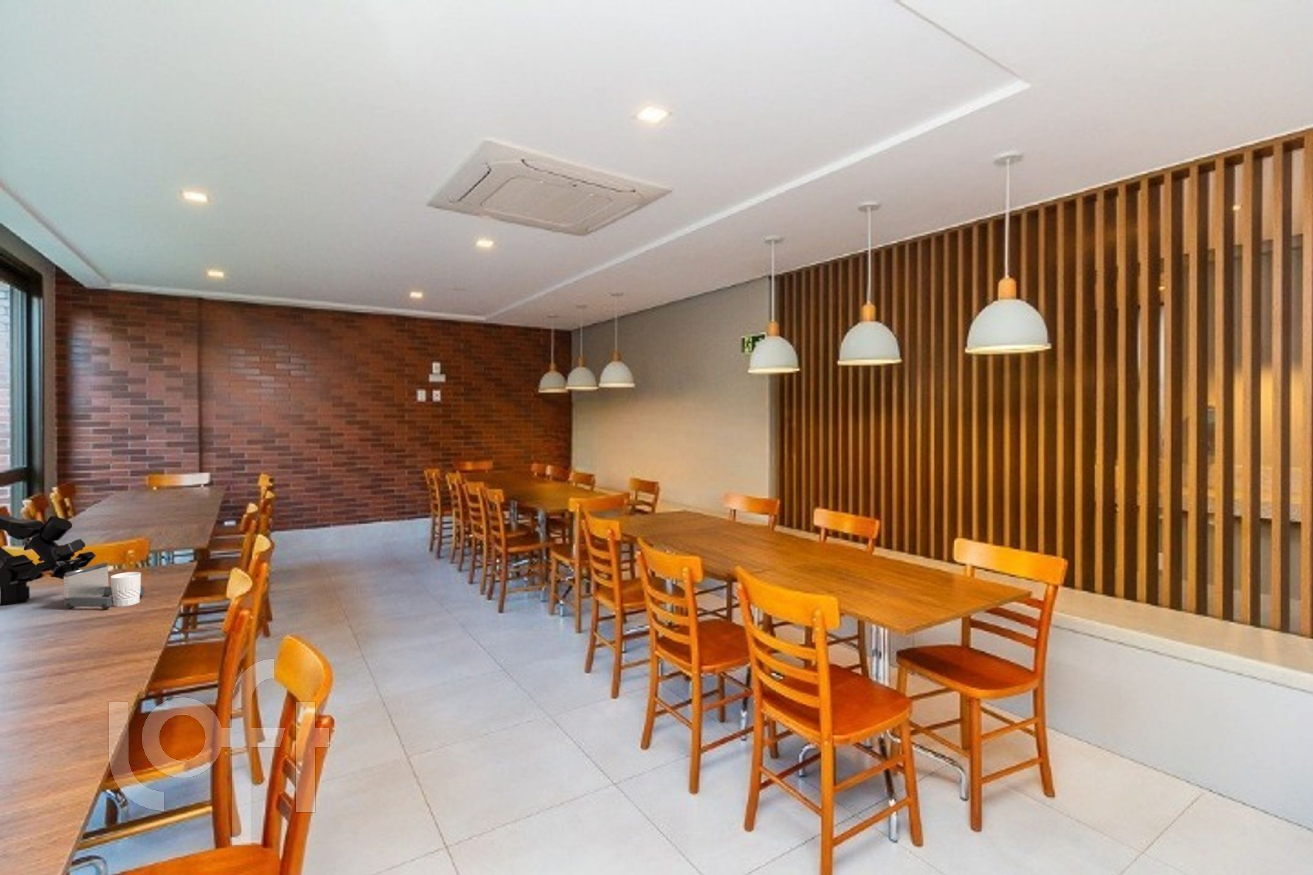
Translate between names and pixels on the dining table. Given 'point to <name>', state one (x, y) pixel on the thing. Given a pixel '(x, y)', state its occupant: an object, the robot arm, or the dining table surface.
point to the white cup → (126, 588)
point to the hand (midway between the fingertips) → (80, 582)
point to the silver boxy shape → (89, 587)
